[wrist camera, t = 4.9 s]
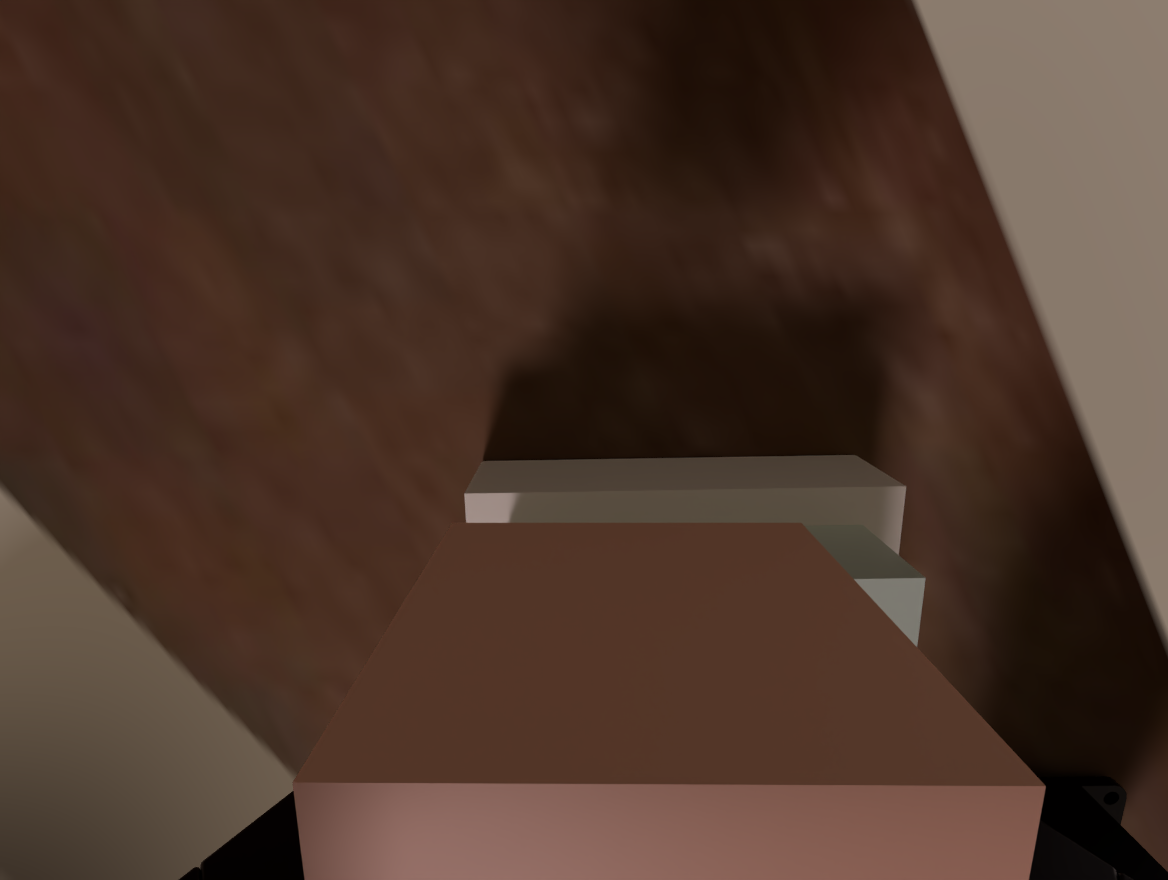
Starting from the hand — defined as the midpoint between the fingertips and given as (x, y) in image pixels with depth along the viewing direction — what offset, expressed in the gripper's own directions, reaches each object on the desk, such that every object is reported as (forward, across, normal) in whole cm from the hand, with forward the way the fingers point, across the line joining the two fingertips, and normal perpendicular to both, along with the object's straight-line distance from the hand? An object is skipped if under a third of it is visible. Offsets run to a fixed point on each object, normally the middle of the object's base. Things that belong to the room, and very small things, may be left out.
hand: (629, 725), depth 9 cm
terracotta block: (+1, 0, 0) cm, 1 cm away
